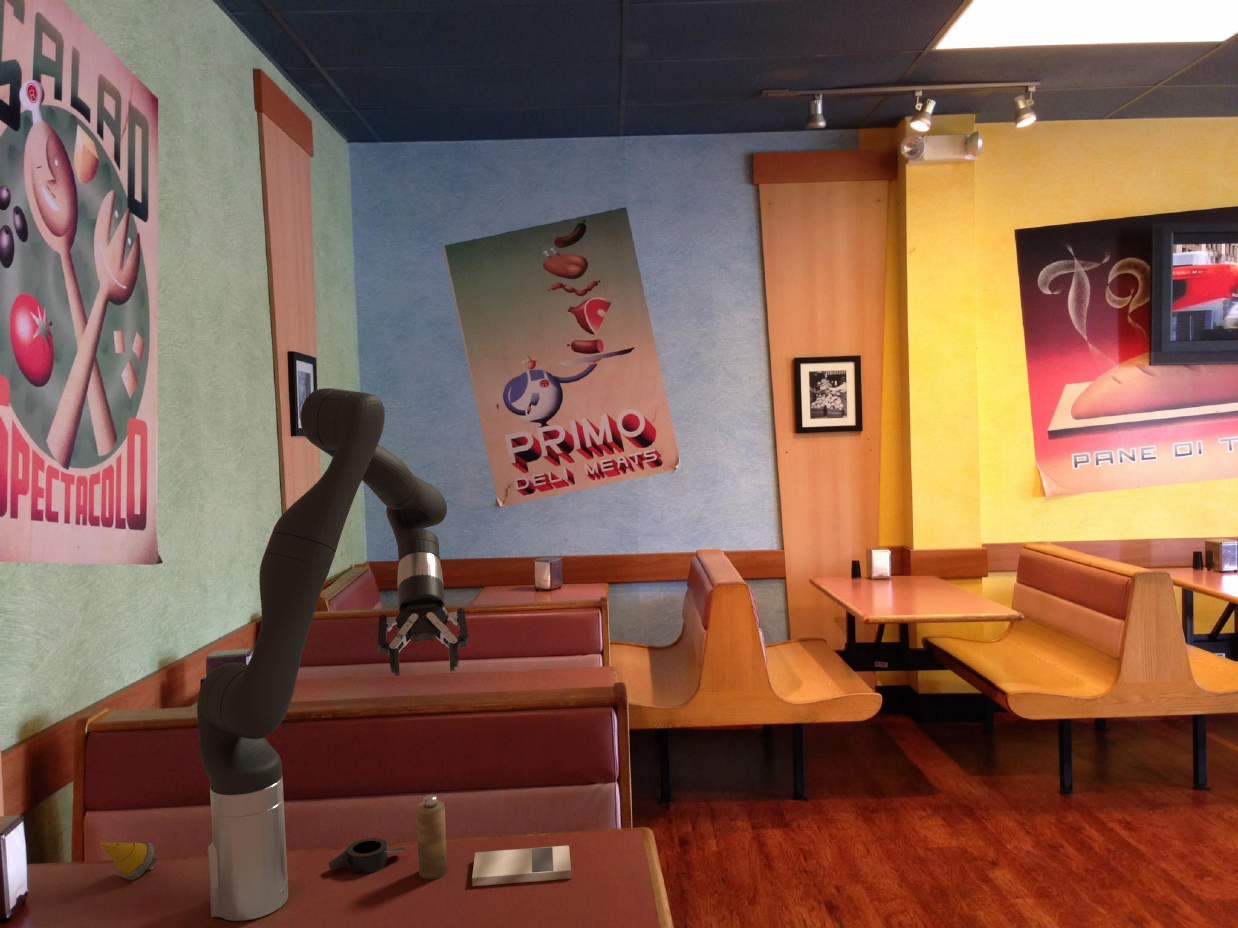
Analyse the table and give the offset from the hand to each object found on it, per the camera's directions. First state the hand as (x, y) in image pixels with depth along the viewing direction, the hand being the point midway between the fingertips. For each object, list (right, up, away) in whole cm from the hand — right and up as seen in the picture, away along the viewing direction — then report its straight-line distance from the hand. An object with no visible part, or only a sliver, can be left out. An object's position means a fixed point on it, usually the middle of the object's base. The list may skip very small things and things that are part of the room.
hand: (425, 670), depth 144 cm
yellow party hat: (-41, -28, -10) cm, 51 cm away
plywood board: (+16, -27, -10) cm, 33 cm away
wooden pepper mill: (+3, -27, -11) cm, 29 cm away
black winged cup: (-7, -28, -8) cm, 29 cm away
